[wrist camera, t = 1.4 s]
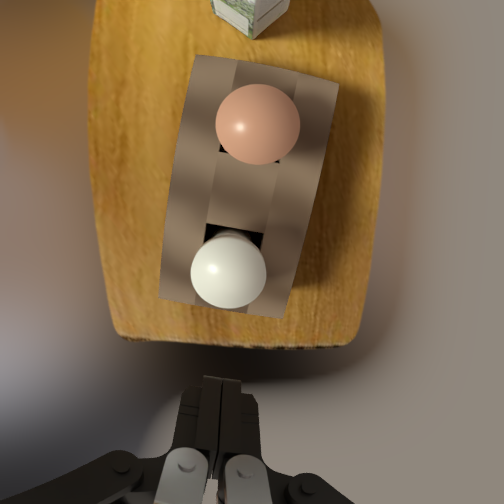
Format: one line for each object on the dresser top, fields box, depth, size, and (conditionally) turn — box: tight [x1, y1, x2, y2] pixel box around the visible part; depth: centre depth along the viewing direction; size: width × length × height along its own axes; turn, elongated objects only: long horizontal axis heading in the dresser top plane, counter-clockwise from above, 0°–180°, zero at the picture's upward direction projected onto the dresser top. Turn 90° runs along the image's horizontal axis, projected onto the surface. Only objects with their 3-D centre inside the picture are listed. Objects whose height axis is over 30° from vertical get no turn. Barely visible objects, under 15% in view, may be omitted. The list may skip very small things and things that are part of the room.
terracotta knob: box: [216, 84, 300, 165], centre depth 22 cm, size 6×6×7 cm
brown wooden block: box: [159, 55, 339, 319], centre depth 27 cm, size 22×12×6 cm, turn 169°
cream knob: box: [191, 226, 266, 308], centre depth 25 cm, size 6×6×7 cm
